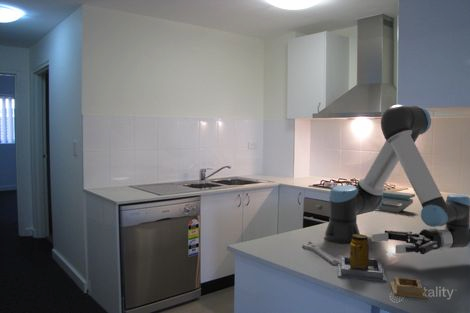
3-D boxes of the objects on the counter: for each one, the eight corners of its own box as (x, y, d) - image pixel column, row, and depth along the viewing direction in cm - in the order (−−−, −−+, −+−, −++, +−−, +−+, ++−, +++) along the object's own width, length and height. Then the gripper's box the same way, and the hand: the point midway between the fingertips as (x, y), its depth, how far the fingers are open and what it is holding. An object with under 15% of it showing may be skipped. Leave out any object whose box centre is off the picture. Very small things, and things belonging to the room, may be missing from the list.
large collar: (338, 261, 140) (338, 254, 139) (381, 265, 136) (381, 258, 135) (338, 277, 125) (338, 269, 125) (386, 282, 121) (386, 274, 121)
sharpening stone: (367, 207, 233) (368, 190, 233) (373, 206, 239) (373, 189, 238) (409, 214, 216) (410, 195, 215) (414, 212, 221) (415, 194, 220)
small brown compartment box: (390, 283, 120) (390, 275, 120) (420, 286, 118) (421, 278, 118) (393, 295, 112) (394, 286, 112) (427, 298, 109) (427, 290, 109)
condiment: (347, 265, 134) (348, 232, 133) (372, 267, 133) (373, 233, 132) (350, 273, 127) (351, 238, 126) (376, 275, 125) (377, 239, 124)
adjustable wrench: (340, 266, 137) (341, 261, 136) (324, 267, 135) (324, 262, 135) (314, 244, 161) (314, 240, 161) (300, 245, 160) (300, 241, 160)
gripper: (462, 260, 125) (407, 266, 120) (410, 239, 149) (363, 243, 144) (463, 238, 124) (408, 243, 119) (411, 220, 149) (363, 223, 144)
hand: (383, 243), depth 132 cm, fingers open, 13 cm apart
